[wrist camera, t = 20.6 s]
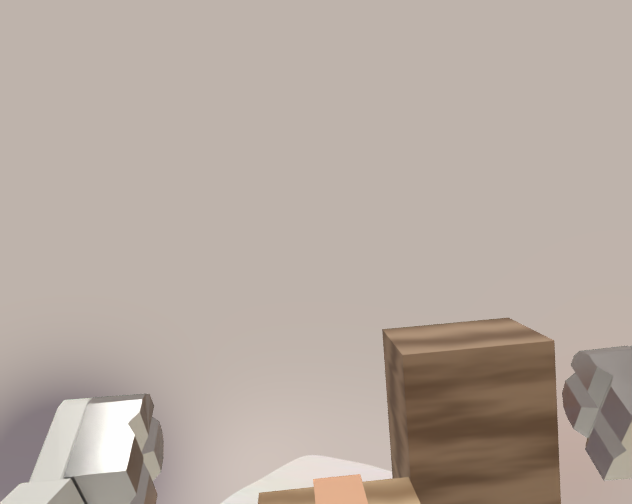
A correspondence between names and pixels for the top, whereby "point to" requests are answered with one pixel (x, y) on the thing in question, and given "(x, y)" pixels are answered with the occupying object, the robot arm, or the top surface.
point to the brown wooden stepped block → (466, 417)
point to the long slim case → (340, 490)
